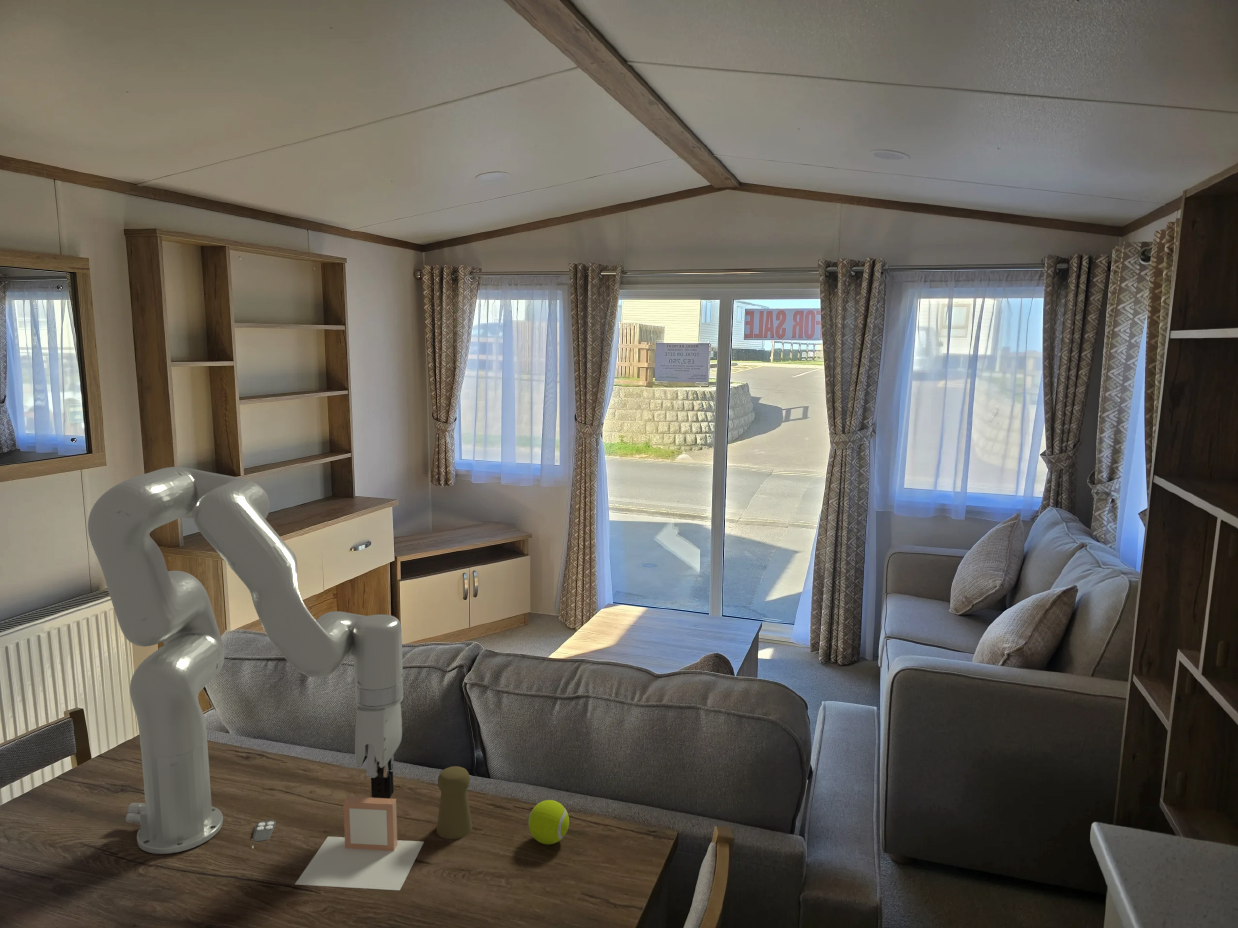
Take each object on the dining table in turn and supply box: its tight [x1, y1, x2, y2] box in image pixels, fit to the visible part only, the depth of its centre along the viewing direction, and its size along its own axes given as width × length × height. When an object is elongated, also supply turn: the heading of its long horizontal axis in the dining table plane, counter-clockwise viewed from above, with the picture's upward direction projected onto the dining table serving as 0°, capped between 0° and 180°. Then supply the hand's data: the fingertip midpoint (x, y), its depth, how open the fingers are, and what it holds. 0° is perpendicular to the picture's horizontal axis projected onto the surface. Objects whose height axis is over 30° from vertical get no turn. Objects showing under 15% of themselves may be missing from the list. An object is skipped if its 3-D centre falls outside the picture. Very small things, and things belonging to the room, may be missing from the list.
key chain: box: [251, 819, 277, 849], centre depth 134 cm, size 13×4×2 cm, turn 13°
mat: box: [294, 836, 425, 892], centre depth 129 cm, size 16×12×1 cm
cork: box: [436, 765, 473, 840], centre depth 138 cm, size 6×6×11 cm
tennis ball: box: [528, 799, 570, 845], centre depth 136 cm, size 7×7×7 cm
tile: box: [342, 796, 398, 851], centre depth 133 cm, size 8×2×8 cm, turn 86°
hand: (382, 795), depth 138 cm, fingers closed
